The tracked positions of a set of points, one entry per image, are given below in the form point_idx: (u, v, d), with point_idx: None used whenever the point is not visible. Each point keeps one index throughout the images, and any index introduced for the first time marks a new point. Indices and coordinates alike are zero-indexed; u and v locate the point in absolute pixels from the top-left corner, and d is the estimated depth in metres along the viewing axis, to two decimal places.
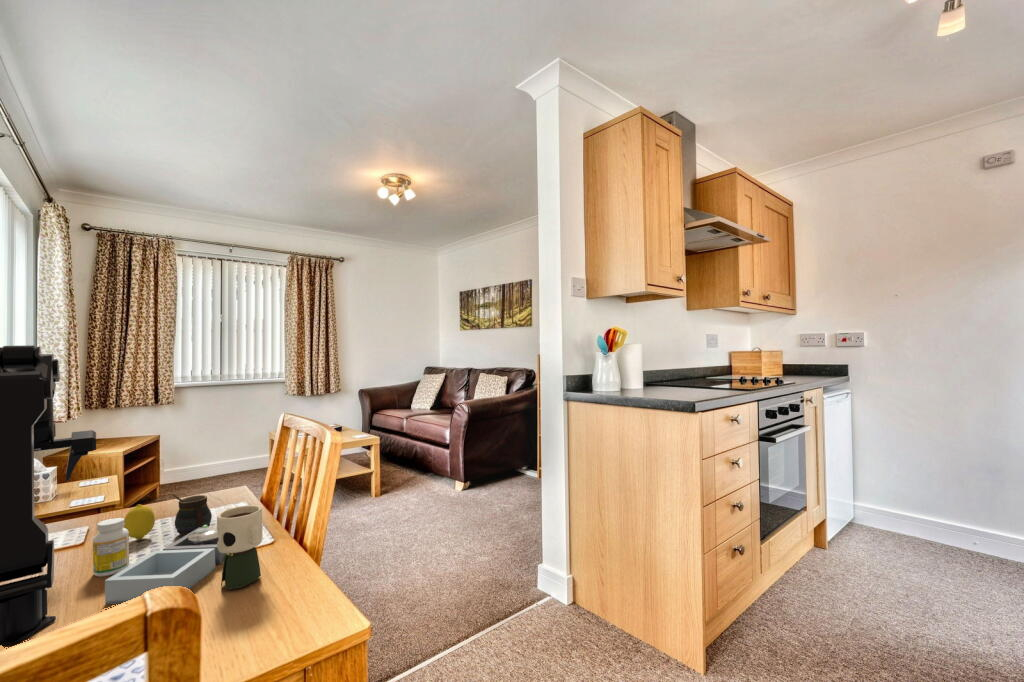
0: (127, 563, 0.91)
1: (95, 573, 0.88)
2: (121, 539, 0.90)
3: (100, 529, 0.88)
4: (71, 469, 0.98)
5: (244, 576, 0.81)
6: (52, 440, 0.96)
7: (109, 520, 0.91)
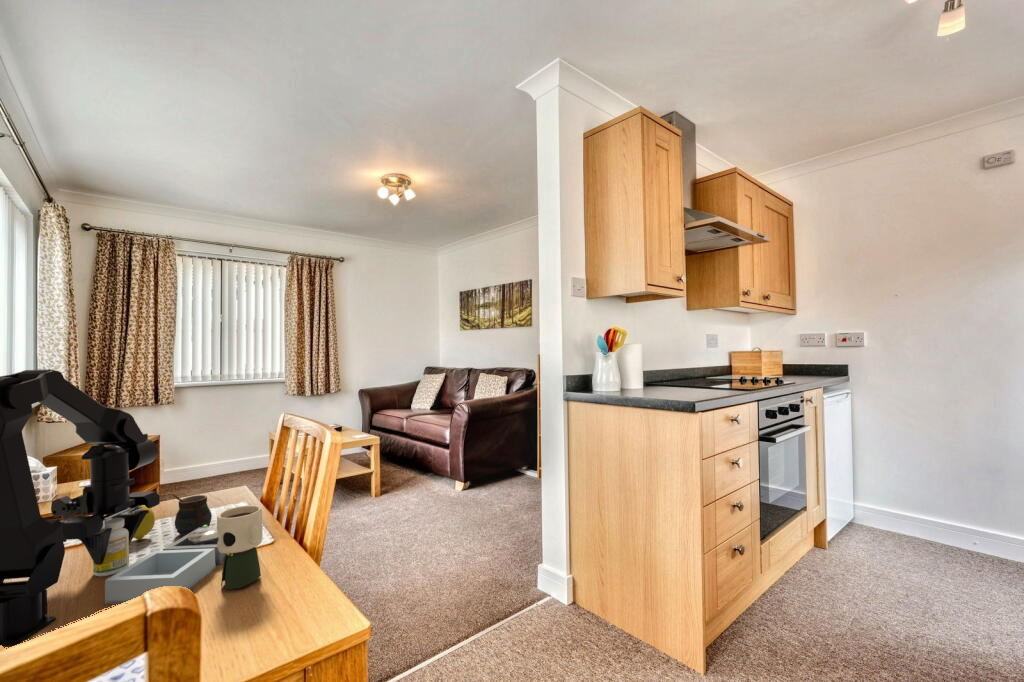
0: (127, 563, 0.91)
1: (95, 573, 0.88)
2: (121, 539, 0.90)
3: None
4: (134, 533, 0.94)
5: (244, 576, 0.81)
6: None
7: (109, 520, 0.91)
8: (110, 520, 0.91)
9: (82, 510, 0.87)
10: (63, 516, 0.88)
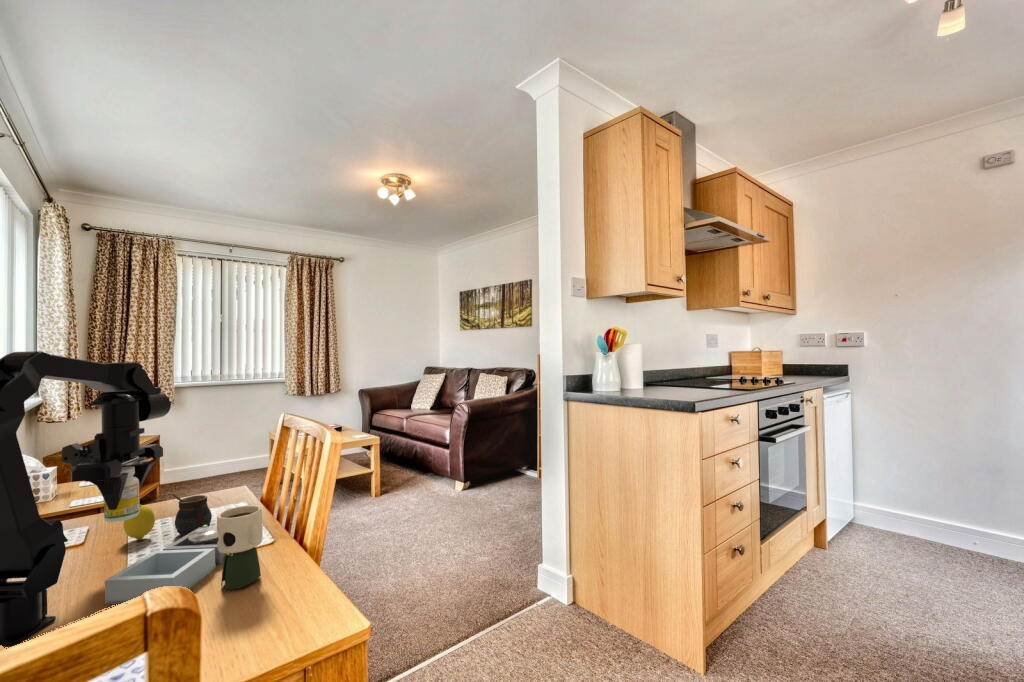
0: None
1: (108, 519, 0.89)
2: (134, 485, 0.91)
3: None
4: (142, 482, 0.95)
5: (244, 576, 0.81)
6: None
7: None
8: None
9: (94, 456, 0.88)
10: (72, 464, 0.88)
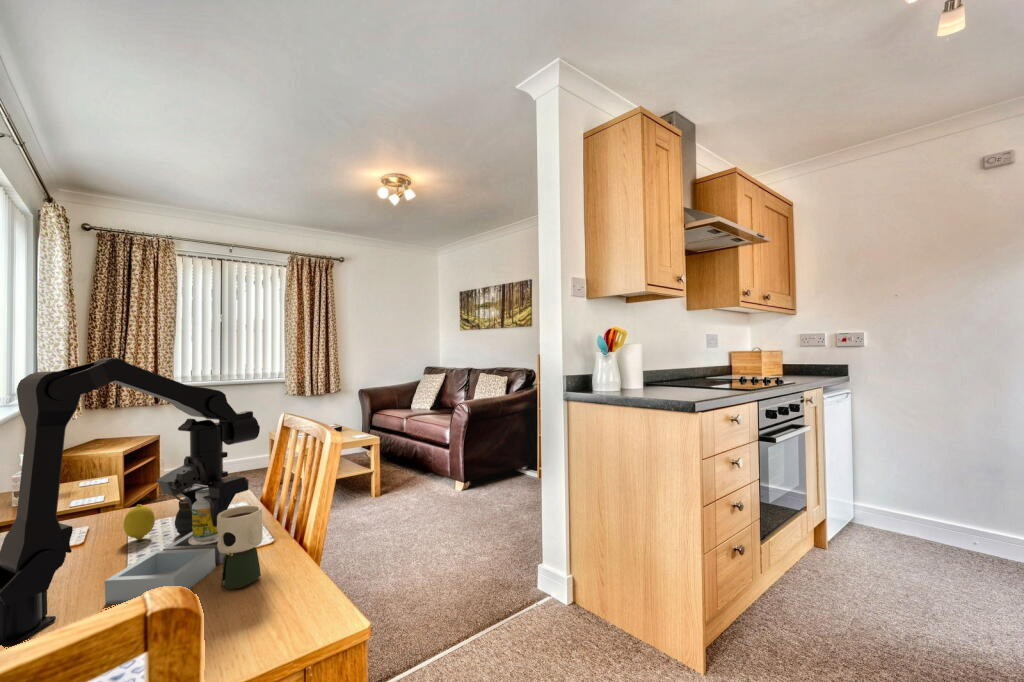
0: None
1: (210, 536, 0.95)
2: None
3: None
4: None
5: (244, 576, 0.81)
6: None
7: (201, 491, 0.96)
8: (203, 490, 0.97)
9: (202, 479, 0.93)
10: (179, 491, 0.90)
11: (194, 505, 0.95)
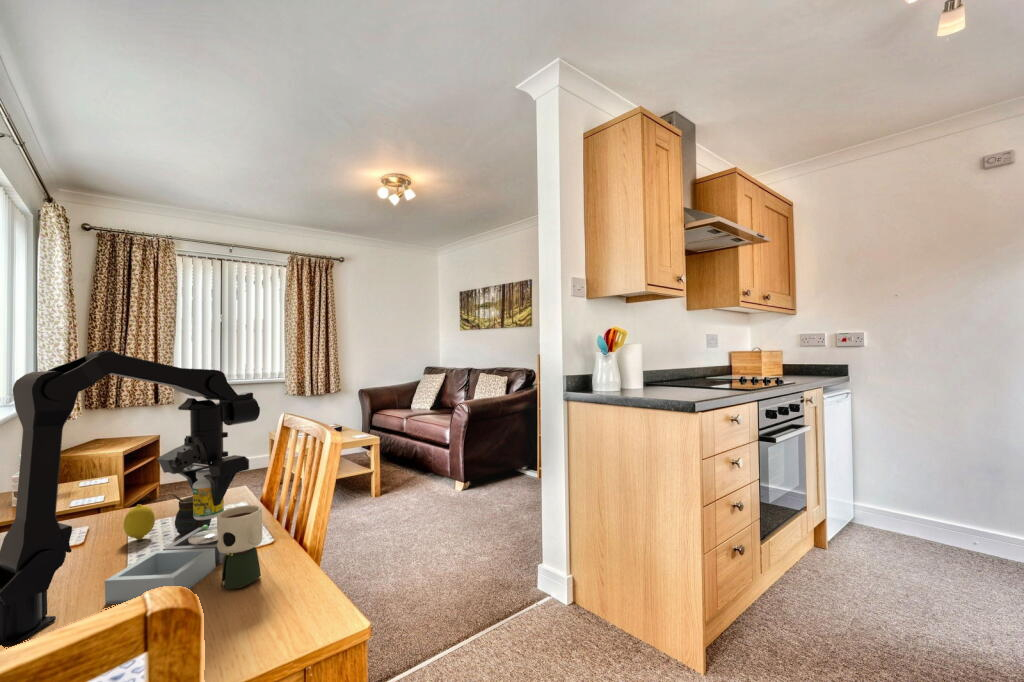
0: None
1: (211, 515, 0.95)
2: None
3: None
4: None
5: (244, 576, 0.81)
6: None
7: (202, 471, 0.97)
8: (203, 470, 0.97)
9: (202, 458, 0.93)
10: (179, 469, 0.90)
11: (195, 484, 0.95)
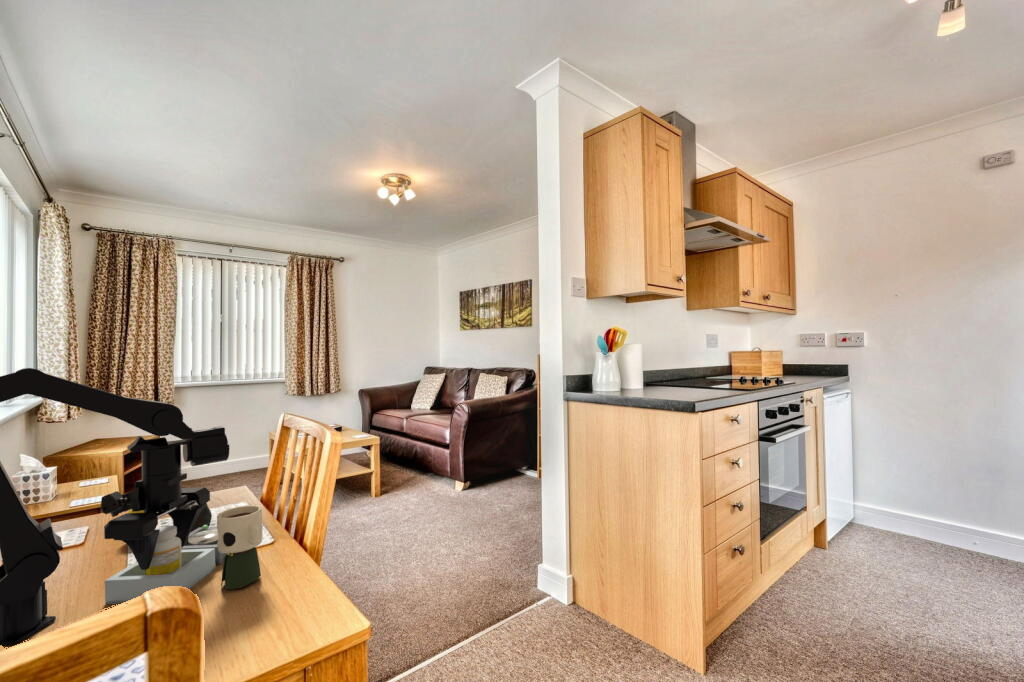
0: None
1: None
2: (175, 548, 0.83)
3: None
4: (191, 528, 0.89)
5: (244, 576, 0.81)
6: None
7: (161, 528, 0.84)
8: (162, 528, 0.84)
9: (134, 507, 0.81)
10: (113, 513, 0.81)
11: None
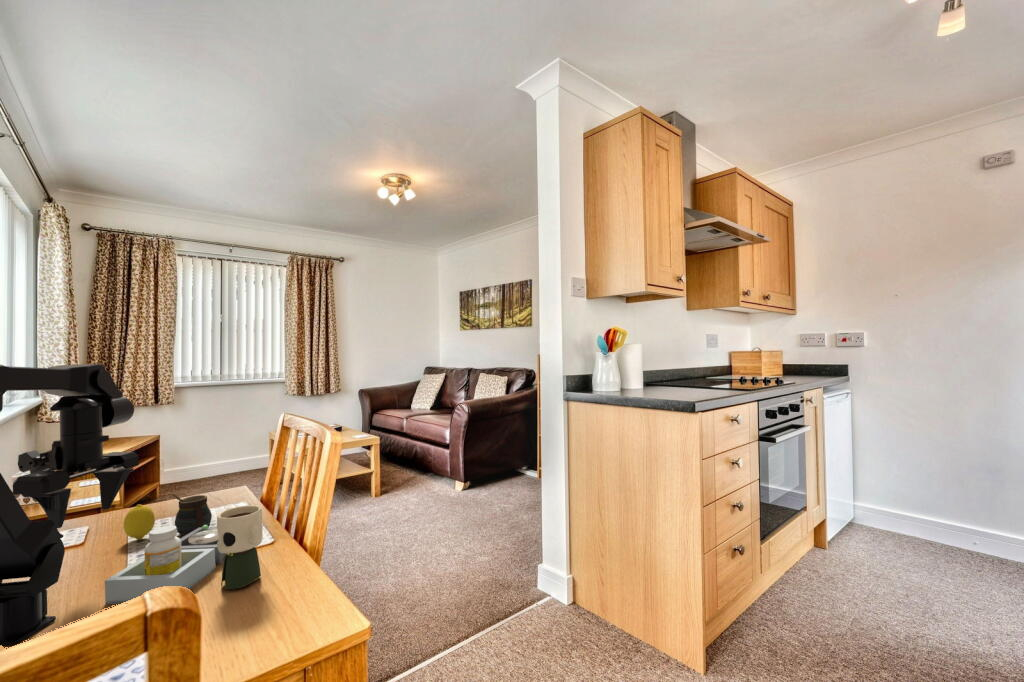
0: None
1: None
2: (175, 548, 0.83)
3: (153, 539, 0.82)
4: (117, 491, 0.90)
5: (244, 576, 0.81)
6: None
7: (160, 528, 0.84)
8: (162, 528, 0.84)
9: (51, 466, 0.82)
10: (32, 472, 0.82)
11: None
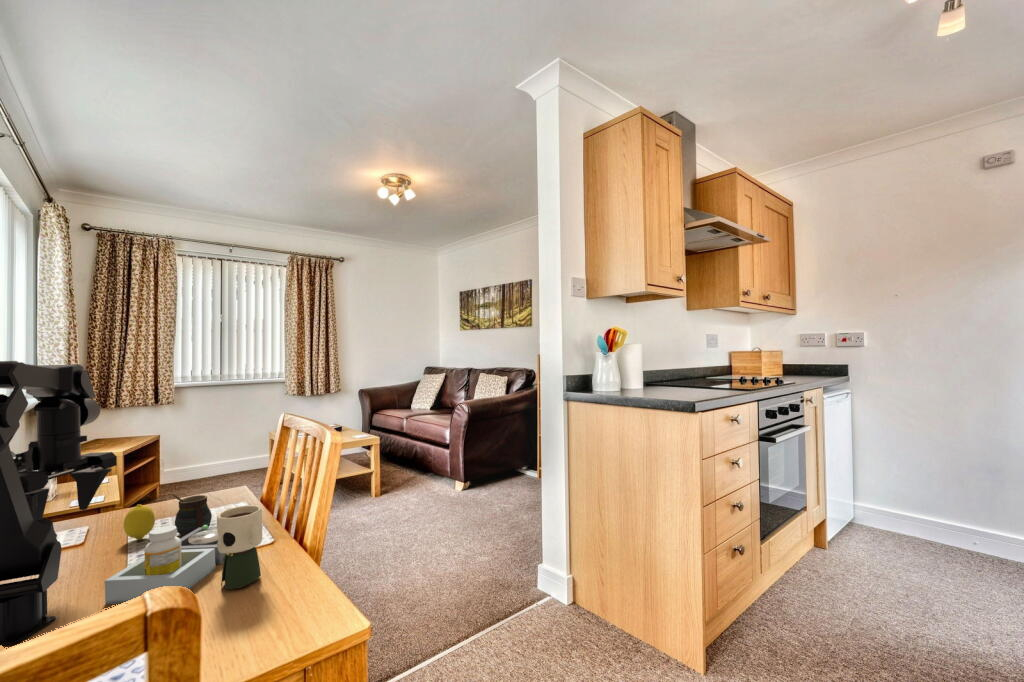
0: None
1: None
2: (175, 548, 0.83)
3: (153, 539, 0.82)
4: (95, 491, 0.90)
5: (244, 576, 0.81)
6: None
7: (160, 528, 0.84)
8: (162, 528, 0.84)
9: (27, 466, 0.81)
10: None
11: None
